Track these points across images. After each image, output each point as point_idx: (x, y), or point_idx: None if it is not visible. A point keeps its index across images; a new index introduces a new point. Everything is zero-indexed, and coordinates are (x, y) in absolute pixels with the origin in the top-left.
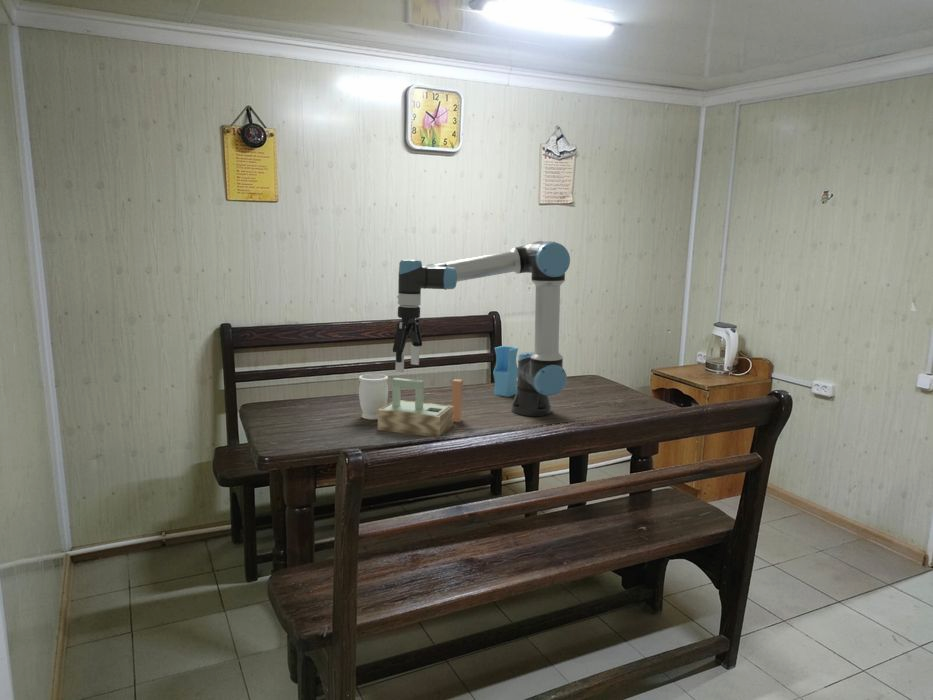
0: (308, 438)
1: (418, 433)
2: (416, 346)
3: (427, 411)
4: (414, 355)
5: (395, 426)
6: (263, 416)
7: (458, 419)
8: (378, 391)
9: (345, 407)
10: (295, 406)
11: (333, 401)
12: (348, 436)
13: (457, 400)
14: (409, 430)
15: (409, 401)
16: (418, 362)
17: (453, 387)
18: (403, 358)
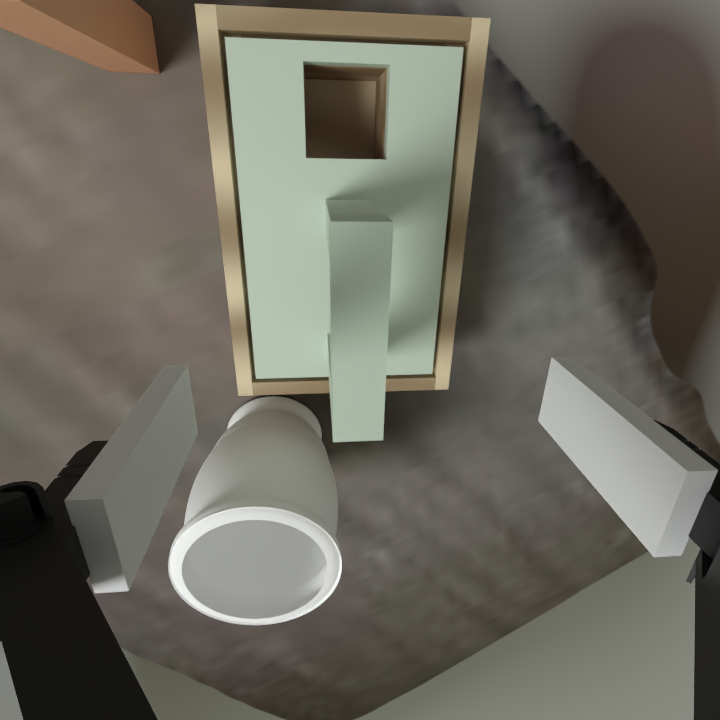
0: (570, 488)
1: None
2: (105, 530)
3: (396, 141)
4: (164, 459)
5: None
6: (410, 661)
7: (146, 17)
8: (314, 476)
9: None
10: (283, 658)
11: (167, 615)
12: (527, 402)
13: None
14: None
15: (240, 319)
16: (167, 376)
17: (53, 4)
18: (654, 425)
